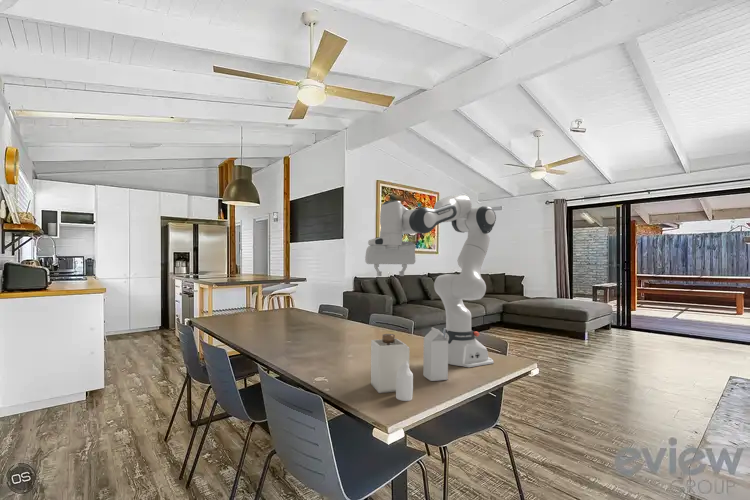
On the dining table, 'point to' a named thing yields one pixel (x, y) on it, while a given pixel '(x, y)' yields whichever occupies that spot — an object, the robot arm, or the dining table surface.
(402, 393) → the white bottle
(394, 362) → the open-top square canister
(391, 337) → the plunger
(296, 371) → the dining table surface
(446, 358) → the milk carton
